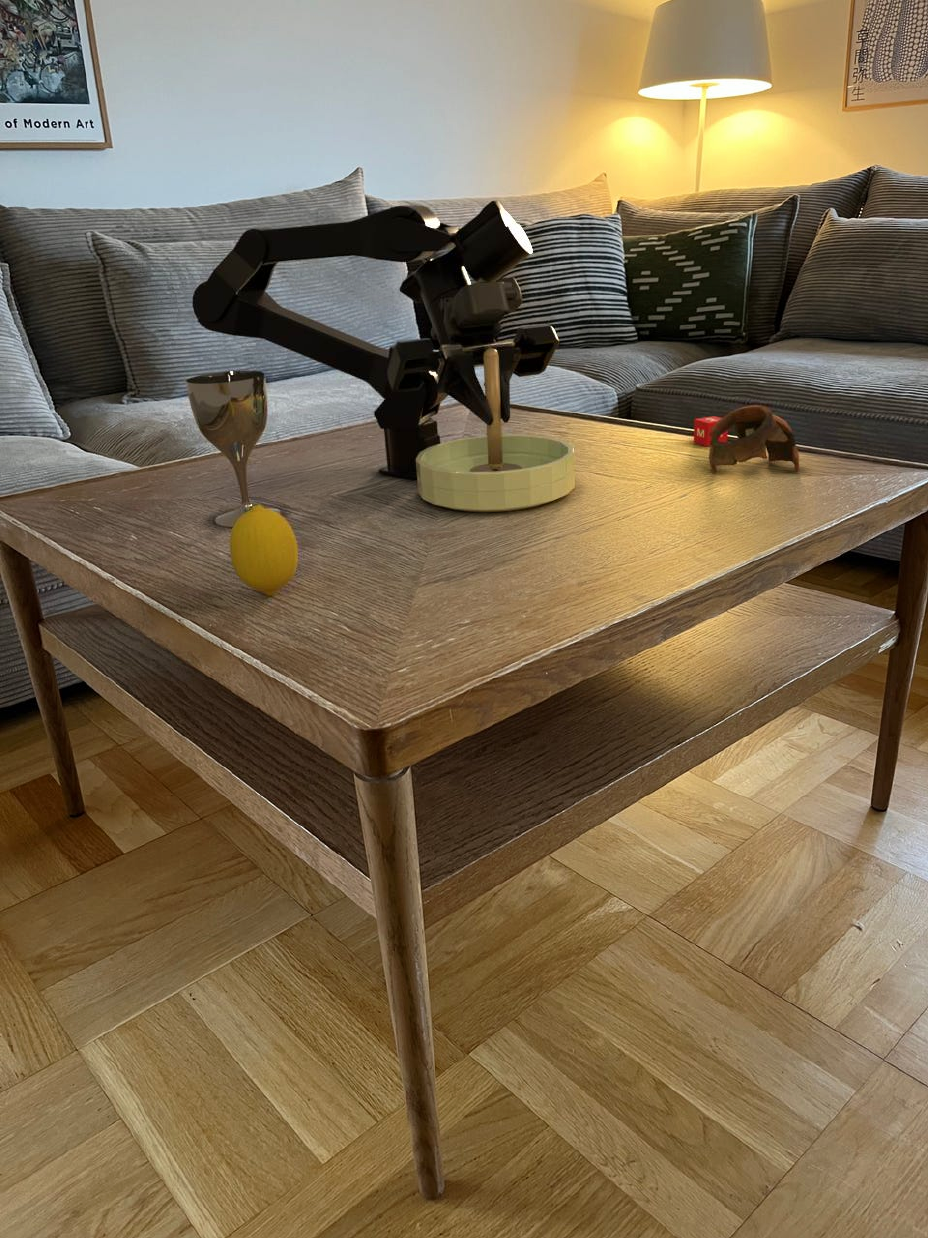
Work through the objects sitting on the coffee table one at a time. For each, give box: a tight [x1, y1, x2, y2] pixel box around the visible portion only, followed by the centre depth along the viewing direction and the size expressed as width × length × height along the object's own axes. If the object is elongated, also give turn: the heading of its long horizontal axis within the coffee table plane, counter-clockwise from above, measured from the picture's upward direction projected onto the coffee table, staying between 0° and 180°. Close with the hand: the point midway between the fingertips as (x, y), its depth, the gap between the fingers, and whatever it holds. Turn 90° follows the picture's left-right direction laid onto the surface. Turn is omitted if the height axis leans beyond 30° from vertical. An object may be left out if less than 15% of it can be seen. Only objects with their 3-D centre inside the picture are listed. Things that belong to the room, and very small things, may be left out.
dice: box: [693, 415, 729, 448], centre depth 117 cm, size 3×3×3 cm
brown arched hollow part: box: [708, 404, 801, 473], centre depth 104 cm, size 12×10×8 cm
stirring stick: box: [469, 349, 523, 472], centre depth 99 cm, size 6×6×15 cm
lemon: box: [229, 504, 299, 597], centre depth 76 cm, size 6×6×8 cm
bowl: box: [416, 434, 576, 513], centre depth 102 cm, size 17×17×4 cm
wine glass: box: [185, 370, 282, 528], centre depth 97 cm, size 8×8×15 cm
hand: (499, 421), depth 97 cm, fingers closed on stirring stick
